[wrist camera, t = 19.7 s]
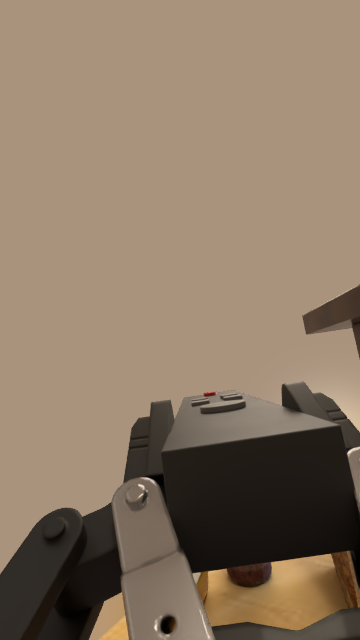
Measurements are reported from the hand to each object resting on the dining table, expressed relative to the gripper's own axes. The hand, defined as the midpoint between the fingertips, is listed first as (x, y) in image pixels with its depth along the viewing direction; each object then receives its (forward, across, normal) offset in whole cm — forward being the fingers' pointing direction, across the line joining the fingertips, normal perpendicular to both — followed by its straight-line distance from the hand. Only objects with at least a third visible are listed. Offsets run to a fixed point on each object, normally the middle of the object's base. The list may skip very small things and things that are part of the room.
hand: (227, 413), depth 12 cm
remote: (+3, 0, +5) cm, 6 cm away
